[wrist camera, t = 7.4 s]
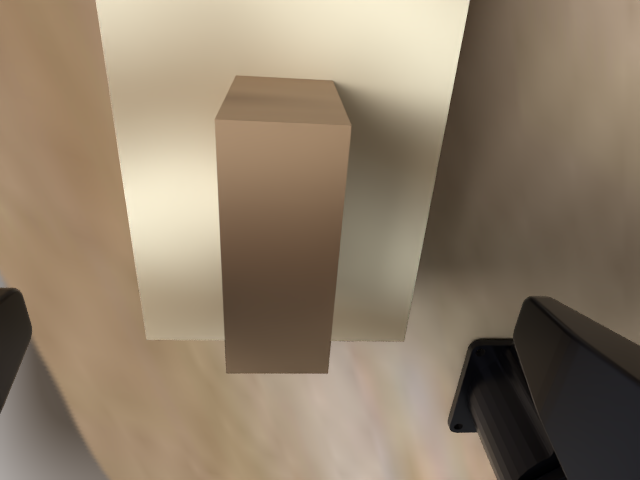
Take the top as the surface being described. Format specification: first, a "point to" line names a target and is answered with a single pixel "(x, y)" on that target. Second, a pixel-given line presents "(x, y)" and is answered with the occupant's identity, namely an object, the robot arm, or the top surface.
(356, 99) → the lid
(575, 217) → the top surface
